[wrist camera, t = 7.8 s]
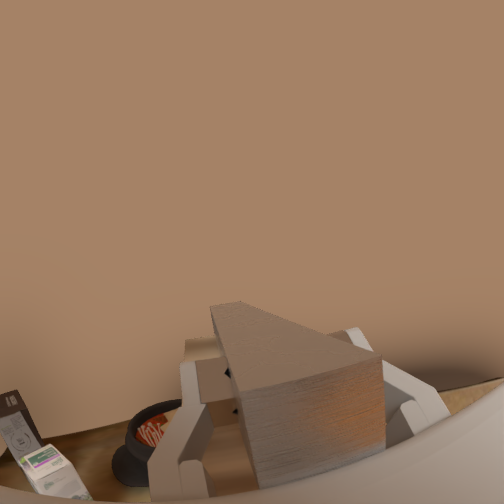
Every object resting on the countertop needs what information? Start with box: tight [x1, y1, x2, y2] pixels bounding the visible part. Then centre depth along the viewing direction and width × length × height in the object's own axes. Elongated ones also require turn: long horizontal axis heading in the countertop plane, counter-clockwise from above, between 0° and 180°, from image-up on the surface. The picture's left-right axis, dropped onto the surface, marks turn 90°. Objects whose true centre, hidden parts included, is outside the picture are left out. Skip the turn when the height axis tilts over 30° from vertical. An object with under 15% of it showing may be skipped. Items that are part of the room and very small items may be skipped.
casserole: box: [112, 399, 182, 487], centre depth 43 cm, size 25×19×8 cm
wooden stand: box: [182, 335, 258, 497], centre depth 24 cm, size 16×9×26 cm, turn 10°
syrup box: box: [18, 444, 94, 501], centre depth 24 cm, size 6×6×14 cm
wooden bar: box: [210, 301, 386, 490], centre depth 18 cm, size 25×3×3 cm, turn 10°
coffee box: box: [0, 390, 45, 494], centre depth 33 cm, size 9×6×16 cm
